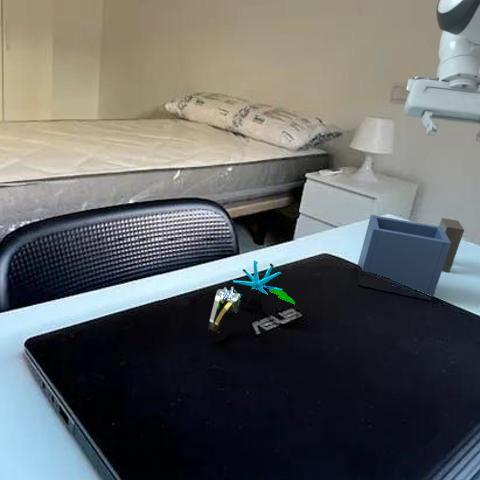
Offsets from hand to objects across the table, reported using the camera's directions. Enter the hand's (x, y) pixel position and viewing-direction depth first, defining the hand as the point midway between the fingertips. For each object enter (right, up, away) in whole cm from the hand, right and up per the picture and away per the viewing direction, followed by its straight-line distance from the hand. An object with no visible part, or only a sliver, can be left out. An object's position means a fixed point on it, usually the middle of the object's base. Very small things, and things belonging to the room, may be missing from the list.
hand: (456, 136), depth 101 cm
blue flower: (-43, -32, -22) cm, 58 cm away
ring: (-51, -35, -31) cm, 69 cm away
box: (-18, -29, -10) cm, 35 cm away
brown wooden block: (-4, -26, -1) cm, 26 cm away
